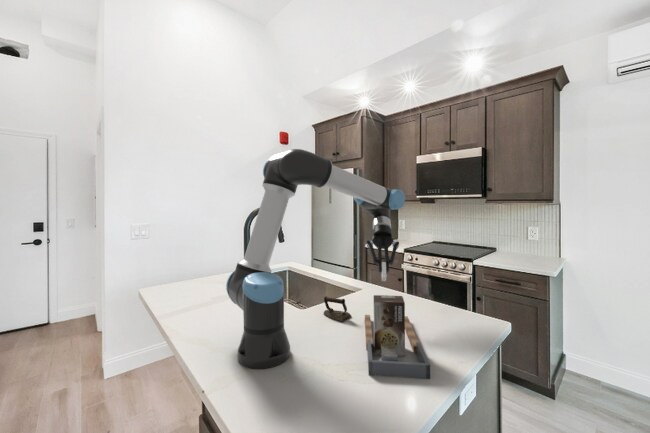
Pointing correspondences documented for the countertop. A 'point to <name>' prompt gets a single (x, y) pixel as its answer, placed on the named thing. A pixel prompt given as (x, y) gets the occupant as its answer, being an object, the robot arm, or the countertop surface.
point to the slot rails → (408, 330)
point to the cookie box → (389, 322)
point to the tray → (399, 365)
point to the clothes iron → (334, 314)
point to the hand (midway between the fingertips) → (384, 279)
